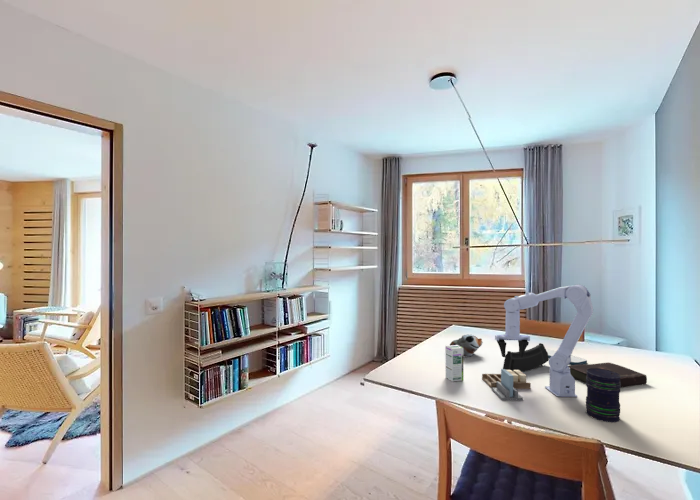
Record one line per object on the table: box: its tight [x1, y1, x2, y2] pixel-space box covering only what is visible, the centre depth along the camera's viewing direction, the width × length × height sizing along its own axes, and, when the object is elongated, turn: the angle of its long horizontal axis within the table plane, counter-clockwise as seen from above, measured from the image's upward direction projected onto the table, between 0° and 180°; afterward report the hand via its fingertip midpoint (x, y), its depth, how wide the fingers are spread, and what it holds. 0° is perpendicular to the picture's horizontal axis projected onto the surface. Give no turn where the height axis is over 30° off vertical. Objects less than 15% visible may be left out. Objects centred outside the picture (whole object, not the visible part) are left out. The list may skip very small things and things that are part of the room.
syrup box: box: [444, 344, 464, 383], centre depth 161 cm, size 6×6×14 cm
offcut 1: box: [507, 370, 518, 382], centre depth 156 cm, size 7×2×4 cm, turn 0°
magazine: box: [502, 342, 550, 373], centre depth 174 cm, size 17×3×30 cm
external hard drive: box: [546, 348, 588, 366], centre depth 193 cm, size 24×12×2 cm, turn 26°
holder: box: [491, 381, 524, 401], centre depth 144 cm, size 10×8×4 cm
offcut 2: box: [513, 370, 527, 383], centre depth 156 cm, size 7×2×4 cm, turn 0°
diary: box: [568, 362, 648, 388], centre depth 162 cm, size 19×25×5 cm
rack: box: [481, 373, 532, 390], centre depth 156 cm, size 11×16×2 cm
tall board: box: [500, 368, 513, 397], centre depth 144 cm, size 8×1×8 cm, turn 0°
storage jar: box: [585, 368, 622, 423], centre depth 127 cm, size 10×10×15 cm
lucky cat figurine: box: [449, 334, 484, 358], centre depth 198 cm, size 15×12×14 cm
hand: (512, 356), depth 160 cm, fingers open, 7 cm apart
